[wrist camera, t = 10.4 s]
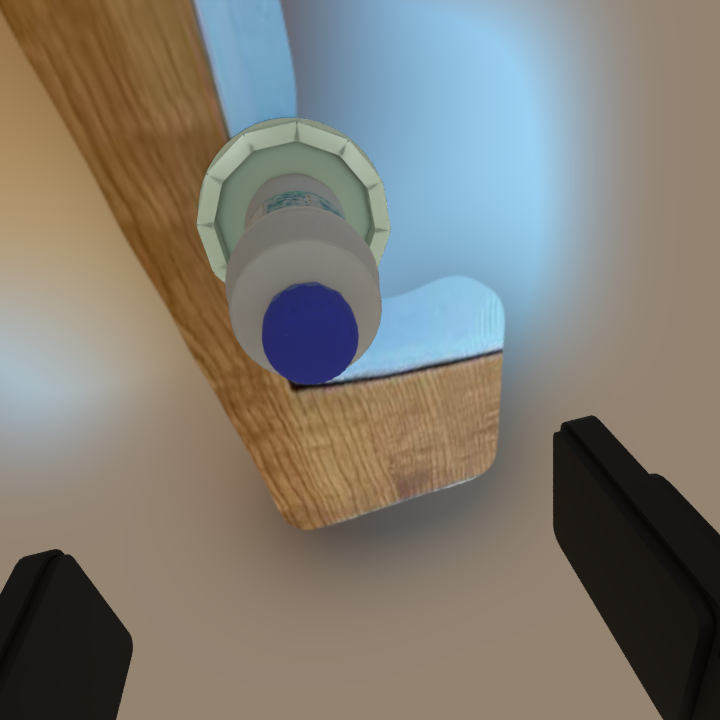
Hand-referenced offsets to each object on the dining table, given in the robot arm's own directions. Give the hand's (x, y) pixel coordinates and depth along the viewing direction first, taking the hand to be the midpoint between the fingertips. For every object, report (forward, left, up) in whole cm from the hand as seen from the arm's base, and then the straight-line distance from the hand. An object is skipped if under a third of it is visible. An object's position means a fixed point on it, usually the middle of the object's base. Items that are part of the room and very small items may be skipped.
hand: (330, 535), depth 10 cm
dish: (0, 0, -29) cm, 29 cm away
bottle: (0, 0, -28) cm, 28 cm away
